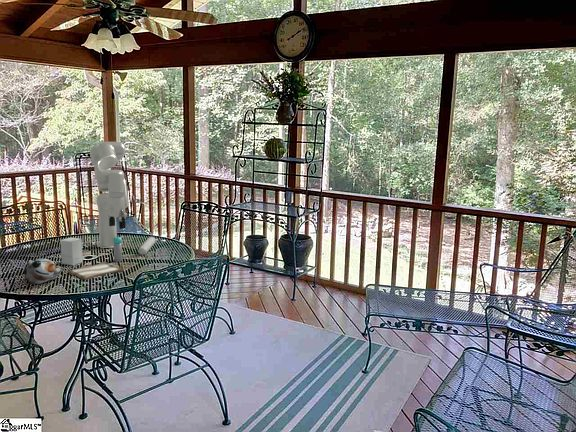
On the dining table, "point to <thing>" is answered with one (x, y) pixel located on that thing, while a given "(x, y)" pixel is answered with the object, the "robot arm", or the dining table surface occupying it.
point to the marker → (117, 249)
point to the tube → (146, 245)
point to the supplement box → (71, 251)
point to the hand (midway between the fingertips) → (117, 227)
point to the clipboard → (95, 270)
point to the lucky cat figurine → (41, 271)
